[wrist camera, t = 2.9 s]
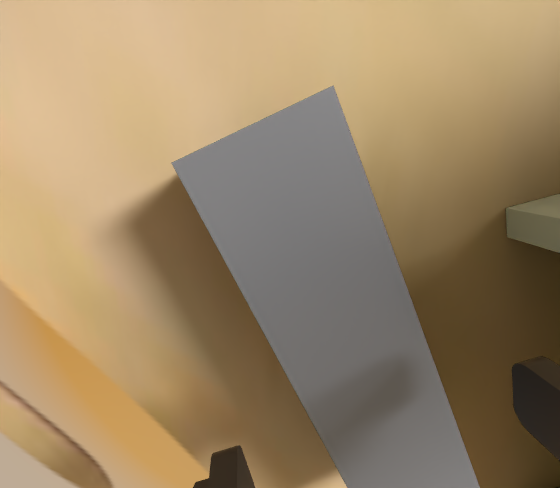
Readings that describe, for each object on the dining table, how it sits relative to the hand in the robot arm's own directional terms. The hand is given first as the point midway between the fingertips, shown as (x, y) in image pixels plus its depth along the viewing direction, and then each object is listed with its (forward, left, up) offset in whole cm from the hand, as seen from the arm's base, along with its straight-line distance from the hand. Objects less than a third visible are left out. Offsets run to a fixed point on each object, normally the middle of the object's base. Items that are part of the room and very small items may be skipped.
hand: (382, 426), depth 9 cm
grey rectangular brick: (0, 0, -8) cm, 8 cm away
